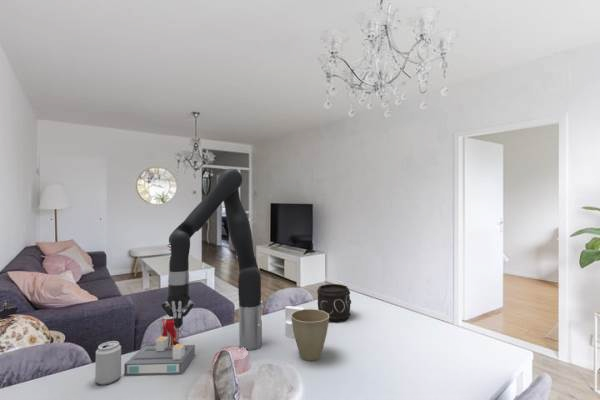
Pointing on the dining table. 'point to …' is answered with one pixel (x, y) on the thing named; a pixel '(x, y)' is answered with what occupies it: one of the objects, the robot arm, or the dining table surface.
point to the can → (108, 362)
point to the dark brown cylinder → (334, 301)
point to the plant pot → (310, 332)
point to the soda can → (169, 330)
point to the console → (158, 361)
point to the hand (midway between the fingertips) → (178, 327)
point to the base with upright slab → (290, 320)
